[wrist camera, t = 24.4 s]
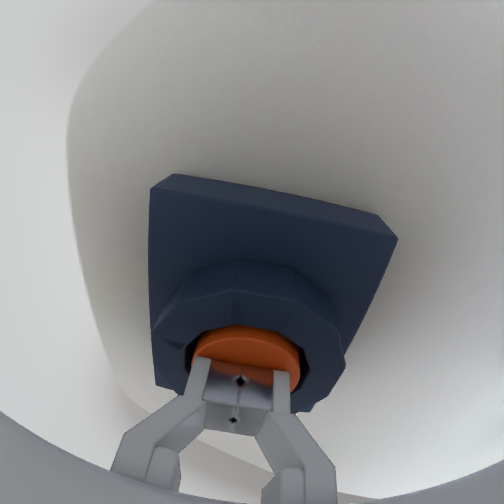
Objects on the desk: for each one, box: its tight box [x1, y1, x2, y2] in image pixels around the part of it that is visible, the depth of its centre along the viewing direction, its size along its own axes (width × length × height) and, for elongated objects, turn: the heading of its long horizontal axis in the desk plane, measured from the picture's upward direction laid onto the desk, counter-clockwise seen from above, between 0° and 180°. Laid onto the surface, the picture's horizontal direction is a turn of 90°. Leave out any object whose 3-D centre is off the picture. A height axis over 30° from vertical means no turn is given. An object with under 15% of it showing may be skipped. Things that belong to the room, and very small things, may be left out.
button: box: [191, 324, 300, 392], centre depth 10 cm, size 4×4×2 cm
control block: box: [148, 174, 398, 414], centre depth 11 cm, size 10×8×4 cm
